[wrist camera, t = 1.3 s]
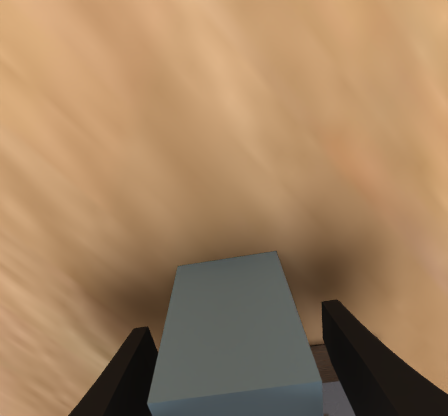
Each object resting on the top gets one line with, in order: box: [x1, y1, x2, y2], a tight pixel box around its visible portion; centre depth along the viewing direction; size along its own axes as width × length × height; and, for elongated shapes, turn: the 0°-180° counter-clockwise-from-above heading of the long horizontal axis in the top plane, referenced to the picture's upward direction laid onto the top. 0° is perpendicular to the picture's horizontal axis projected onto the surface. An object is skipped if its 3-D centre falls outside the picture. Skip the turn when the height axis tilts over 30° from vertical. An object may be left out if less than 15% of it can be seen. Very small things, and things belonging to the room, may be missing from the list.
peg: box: [147, 251, 323, 416], centre depth 11 cm, size 4×4×6 cm
